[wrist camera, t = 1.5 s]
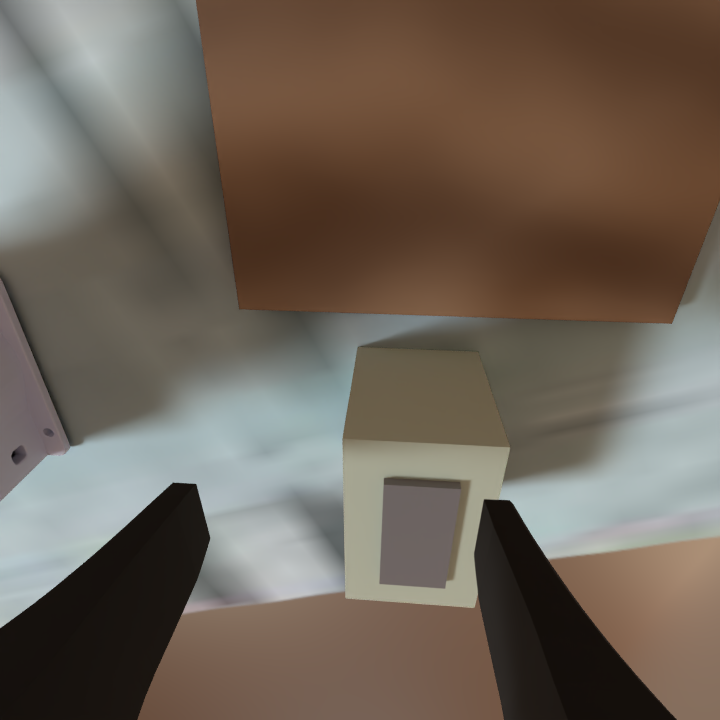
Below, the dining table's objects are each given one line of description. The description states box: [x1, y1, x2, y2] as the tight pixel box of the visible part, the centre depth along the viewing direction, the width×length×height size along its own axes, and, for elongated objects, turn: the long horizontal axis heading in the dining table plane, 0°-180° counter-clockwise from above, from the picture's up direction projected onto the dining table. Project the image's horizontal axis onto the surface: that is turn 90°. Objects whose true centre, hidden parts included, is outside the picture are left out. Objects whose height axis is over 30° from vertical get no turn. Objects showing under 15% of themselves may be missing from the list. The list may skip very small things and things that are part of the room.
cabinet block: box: [343, 347, 510, 608], centre depth 18 cm, size 8×5×6 cm, turn 0°
